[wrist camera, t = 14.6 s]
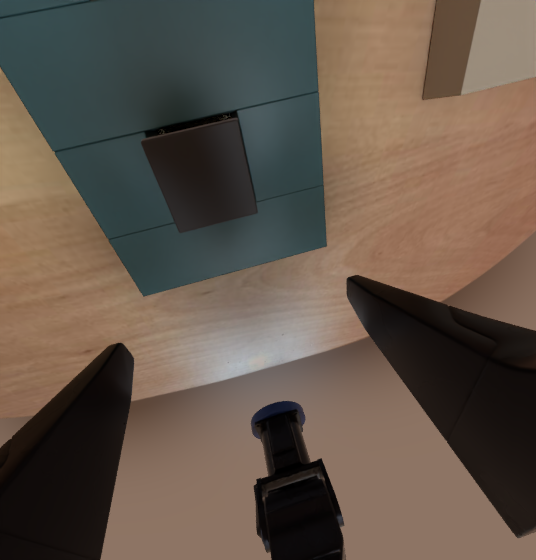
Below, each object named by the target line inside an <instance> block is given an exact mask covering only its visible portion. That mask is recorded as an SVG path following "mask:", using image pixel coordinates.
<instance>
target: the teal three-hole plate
mask: <svg viewBox="0 0 536 560" xmlns="http://www.w3.org/2000/svg"><path fill="white" fill-rule="evenodd" d="M0 67H1V69H2V70H3V72H4V73H5V75H6V77H7V78H8V80H9V81H10V83H11V85H12V86H13V88H14V89H15V91H16V93H17V94H18V96H19V98H20V99H21V101H22V102H23V104H24V106H25V107H26V109H27V110H28V112H29V114H30V115H31V117H32V118H33V120H34V122H35V123H36V125H37V126H38V128H39V130H40V131H41V133H42V134H43V136H44V138H45V139H46V141H47V142H48V144H49V146H50V147H51V149H52V150H53V151H55V155H56V156H57V158H58V160H59V161H60V163H61V164H62V166H63V168H64V169H65V171H66V172H67V174H68V176H69V177H70V179H71V180H72V182H73V184H74V185H75V187H76V189H77V190H78V192H79V193H80V195H81V197H82V198H83V200H84V201H85V203H86V205H87V206H88V208H89V209H90V211H91V213H92V214H93V216H94V217H95V219H96V221H97V222H98V224H99V225H100V227H101V229H102V230H103V232H104V233H105V235H106V237H107V238H108V239H109V242H110V244H111V245H112V247H113V248H114V250H115V252H116V253H117V255H118V256H119V258H120V260H121V261H122V263H123V264H124V266H125V268H126V269H127V271H128V272H129V274H130V276H131V277H132V279H133V280H134V282H135V284H136V285H137V287H138V288H139V290H140V292H141V293H142V295H143V296H147V295H151V294H155V293H158V292H162V291H166V290H169V289H173V288H177V287H180V286H184V285H187V284H191V283H195V282H198V281H202V280H206V279H209V278H213V277H217V276H220V275H224V274H228V273H231V272H235V271H239V270H242V269H246V268H249V267H253V266H257V265H260V264H264V263H268V262H271V261H275V260H279V259H282V258H286V257H290V256H293V255H297V254H300V253H304V252H308V251H311V250H315V249H319V248H322V247H326V246H327V243H326V223H325V204H324V185H323V165H322V146H321V127H320V108H319V92H318V73H317V54H316V35H315V16H314V0H0ZM229 113H232V118H238V122H239V126H240V131H241V136H242V140H243V145H244V150H245V154H246V159H247V163H248V168H249V173H250V177H251V182H252V187H253V191H254V196H255V200H256V205H257V210H258V213H257V214H253V215H249V216H245V217H241V218H238V219H234V220H230V221H226V222H222V223H218V224H214V225H211V226H207V227H203V228H199V229H195V230H191V231H187V232H184V233H179V231H178V229H177V226H176V224H175V222H174V219H173V217H172V215H171V212H170V210H169V208H168V205H167V203H166V201H165V198H164V196H163V194H162V191H161V189H160V187H159V185H158V182H157V180H156V178H155V175H154V173H153V171H152V168H151V166H150V164H149V161H148V159H147V157H146V154H145V152H144V150H143V147H142V145H141V140H142V139H145V138H150V137H154V136H158V134H157V132H156V131H155V130H159V129H163V128H168V127H172V126H176V125H181V124H185V123H190V122H194V121H198V120H203V119H207V118H212V117H216V116H220V115H225V114H229Z"/></svg>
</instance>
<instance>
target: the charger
mask: <svg viewBox="0 0 536 560" xmlns="http://www.w3.org/2000/svg"><path fill="white" fill-rule="evenodd" d="M141 145H142V147H143V150H144V152H145V154H146V157H147V159H148V161H149V164H150V166H151V168H152V171H153V173H154V175H155V178H156V180H157V182H158V185H159V187H160V189H161V191H162V194H163V196H164V198H165V201H166V203H167V205H168V208H169V210H170V212H171V215H172V217H173V219H174V222H175V224H176V226H177V229H178V231H179V233H184V232H187V231H191V230H195V229H199V228H203V227H207V226H211V225H214V224H218V223H222V222H226V221H230V220H234V219H238V218H241V217H245V216H249V215H253V214H257V213H258V210H257V205H256V200H255V196H254V191H253V187H252V182H251V177H250V173H249V168H248V163H247V159H246V154H245V150H244V145H243V140H242V136H241V131H240V126H239V122H238V118H232V119H228V120H224V121H219V122H215V123H211V124H206V125H202V126H198V127H193V128H189V129H184V130H180V131H176V132H171V133H167V134H163V135H158V136H154V137H150V138H145V139H142V140H141Z"/></svg>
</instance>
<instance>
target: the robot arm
mask: <svg viewBox="0 0 536 560" xmlns="http://www.w3.org/2000/svg"><path fill="white" fill-rule="evenodd" d="M347 297H348V300H349V302H350V303H351V305H352V307H353V309H354V310H355V312H356V314H357V316H358V318H359V319H360V321H361V323H362V325H363V326H364V328H365V330H366V331H367V332H368V334H369V335H370V337H371V338H372V339H373V340H374V342H375V344H376V345H377V346H378V348H379V349H380V350H381V352H382V353H383V354H384V356H385V357H386V358H387V360H388V361H389V363H390V364H391V366H392V367H393V368H394V370H395V371H396V372H397V374H398V375H399V377H400V378H401V379H402V380H403V382H404V383H405V385H406V386H407V388H408V389H409V390H410V392H411V393H412V394H413V396H414V397H415V398H416V400H417V401H418V403H419V404H420V405H421V407H422V408H423V409H424V411H425V412H426V414H427V415H428V416H429V418H430V419H431V421H432V422H433V423H434V425H435V426H436V427H437V429H438V430H439V432H440V433H441V434H442V436H443V437H444V438H445V440H446V441H447V443H448V444H449V446H450V447H451V448H452V450H453V451H454V452H455V454H456V455H457V457H458V458H459V459H460V461H461V462H462V463H463V465H464V466H465V468H466V469H467V470H468V472H469V473H470V474H471V476H472V477H473V479H474V480H475V481H476V483H477V484H478V485H479V487H480V488H481V490H482V491H483V492H484V494H485V495H486V496H487V498H488V499H489V501H490V502H491V503H492V505H493V506H494V507H495V509H496V510H497V511H498V513H499V514H500V516H501V517H502V518H503V520H504V521H505V523H506V524H507V525H508V527H509V528H510V529H511V531H512V532H513V533H514V534H515V536H516V537H517V538H521V537H523V536H526V535H529V534H531V533H534V532H536V331H534V330H530V329H527V328H523V327H519V326H515V325H512V324H508V323H505V322H501V321H498V320H494V319H490V318H487V317H483V316H480V315H477V314H473V313H470V312H467V311H464V310H461V309H458V308H455V307H452V306H448V305H446V304H443V303H440V302H437V301H434V300H431V299H428V298H425V297H422V296H419V295H416V294H413V293H410V292H407V291H404V290H401V289H398V288H395V287H392V286H389V285H386V284H383V283H380V282H377V281H374V280H371V279H368V278H365V277H362V276H359V275H354V276H351V277H348V278H347ZM133 371H134V358H133V356H132V354H131V353H130V352H129V351H128V349H127V348H126V347H125V345H124V344H123V343H116V344H113V345H110V346H108V347H107V348H106V349H105V350H104V351H103V352H102V353H101V354H100V355H98V356H97V357H96V358H95V359H94V360H93V361H92V362H91V363H90V364H89V365H88V366H87V367H86V368H85V369H84V370H83V371H81V372H80V373H79V374H78V375H77V376H76V377H75V378H74V379H73V380H72V381H71V382H70V383H69V384H68V385H67V386H66V387H64V388H63V389H62V390H61V391H60V392H59V393H58V394H57V395H56V396H55V397H54V398H53V399H52V400H51V401H50V402H49V403H47V404H46V405H45V406H44V407H43V408H42V409H41V410H40V411H39V412H38V413H37V414H36V415H35V416H34V417H33V418H32V419H30V420H29V421H28V422H27V423H26V424H25V425H24V426H23V427H22V428H21V429H20V430H19V431H18V432H17V433H16V434H15V435H13V436H12V439H10V440H8V441H7V442H6V443H5V444H4V445H3V446H2V447H1V448H0V560H100V559H101V553H102V548H103V543H104V538H105V533H106V528H107V522H108V517H109V512H110V507H111V502H112V497H113V491H114V486H115V481H116V476H117V471H118V465H119V460H120V455H121V450H122V444H123V440H124V434H125V429H126V424H127V419H128V413H129V409H130V403H131V395H132V383H133ZM254 426H255V429H256V431H257V433H258V435H259V437H260V439H261V442H262V443H263V448H264V454H265V459H266V465H267V471H268V477H265V478H262V479H261V478H259V479H257V484H256V485H254V492H255V500H256V528H257V535H258V536H259V537H260V538H262V541H263V544H264V546H265V550H266V552H267V553H268V552H271V558H272V560H346V555H345V548H344V540H343V535H342V532H341V529H340V527H342V526H344V522H343V517H342V514H341V511H340V507H339V504H338V501H337V498H336V495H335V493H334V490H333V487H332V485H331V482H330V479H329V477H328V474H327V472H326V469H325V466H324V464H323V461H322V459H318V460H317V461H314V462H310V458H309V455H308V452H307V449H306V445H305V442H304V439H303V436H302V432H303V428H302V423H301V419H300V415H299V411H298V409H294V410H291V411H288V412H285V413H281V414H278V415H275V416H272V417H269V418H266V419H263V420H260V421H257V422H255V423H254ZM320 478H321V479H320Z"/></svg>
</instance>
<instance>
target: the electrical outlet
mask: <svg viewBox="0 0 536 560" xmlns="http://www.w3.org/2000/svg"><path fill="white" fill-rule="evenodd" d="M534 77H536V0H437V3H436V10H435V17H434V24H433V31H432V38H431V45H430V52H429V59H428V66H427V73H426V80H425V87H424V94H423V100H424V99H433V98H441V97H450V96H458V95H464V94H468V93H472V92H476V91H480V90H484V89H488V88H492V87H497V86H501V85H505V84H509V83H513V82H517V81H521V80H525V79H529V78H534Z"/></svg>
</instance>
